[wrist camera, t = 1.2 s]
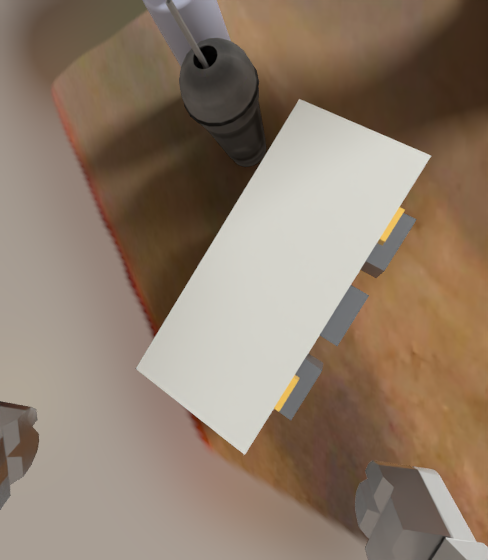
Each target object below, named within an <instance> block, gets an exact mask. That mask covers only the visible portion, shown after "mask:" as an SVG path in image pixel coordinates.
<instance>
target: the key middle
mask: <svg viewBox="0 0 488 560" xmlns="http://www.w3.org/2000/svg"><path fill="white" fill-rule="evenodd" d="M368 296H369V295H367V294H366V293H364V292H362V291H360V290H359V289H357V288H355V287H353V286H352V285H350V287H349V289H348V290H347V292H346V293H345V295H344V297H343V298H342V300H341V301H340V303H339V305H338V306H337V308H336V309H335V311H334V313H333V314H332V316H331V317H330V319H329V321H328V322H327V324H326V325H325V327H324V329H323V330H322V332H321V333H320V336H322V337H323V338H325V339H327V340H328V341H330V342H331V343H333V344H334V345H336V346H338V344H339V343H340V341H341V339H342V338H343V336H344V335H345V333H346V331H347V330H348V328H349V327H350V325H351V323H352V322H353V320H354V319H355V317H356V315H357V314H358V312H359V311H360V309H361V307H362V306H363V304H364V303H365V301H366V299H367V298H368Z"/></svg>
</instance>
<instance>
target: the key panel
mask: <svg viewBox="0 0 488 560" xmlns="http://www.w3.org/2000/svg"><path fill="white" fill-rule="evenodd" d="M430 157H431V155H428V154H426V153H424V152H421V151H419V150H417V149H414V148H412V147H410V146H407V145H405V144H403V143H401V142H398V141H396V140H394V139H391V138H389V137H387V136H384V135H382V134H380V133H377V132H375V131H373V130H370V129H368V128H366V127H363V126H361V125H359V124H356V123H354V122H352V121H349V120H347V119H345V118H342V117H340V116H338V115H335V114H333V113H331V112H328V111H326V110H324V109H322V108H319V107H317V106H315V105H312V104H310V103H308V102H305V101H303V100H301V99H299V101H298V102H297V104H296V105H295V107H294V109H293V110H292V112H291V114H290V115H289V117H288V119H287V120H286V122H285V124H284V125H283V127H282V129H281V130H280V132H279V133H278V135H277V137H276V138H275V140H274V142H273V143H272V145H271V147H270V148H269V150H268V152H267V153H266V155H265V157H264V158H263V160H262V161H261V163H260V165H259V166H258V168H257V170H256V171H255V173H254V175H253V176H252V178H251V180H250V181H249V183H248V185H247V186H246V188H245V189H244V191H243V193H242V194H241V196H240V198H239V199H238V201H237V203H236V204H235V206H234V208H233V209H232V211H231V213H230V214H229V216H228V217H227V219H226V221H225V222H224V224H223V226H222V227H221V229H220V231H219V232H218V234H217V236H216V237H215V239H214V241H213V242H212V244H211V245H210V247H209V249H208V250H207V252H206V254H205V255H204V257H203V259H202V260H201V262H200V264H199V265H198V267H197V269H196V270H195V272H194V273H193V275H192V277H191V278H190V280H189V282H188V283H187V285H186V287H185V288H184V290H183V292H182V293H181V295H180V297H179V298H178V300H177V301H176V303H175V305H174V306H173V308H172V310H171V311H170V313H169V315H168V316H167V318H166V320H165V321H164V323H163V324H162V326H161V328H160V329H159V331H158V333H157V334H156V336H155V338H154V339H153V341H152V343H151V345H150V346H149V348H148V349H147V351H146V353H145V354H144V356H143V358H142V359H141V361H140V362H139V364H138V366H137V367H136V370H138V371H139V372H140V373H142V374H143V375H144V376H145V377H147V378H148V379H149V380H150V381H152V382H153V383H154V384H156V385H157V386H158V387H159V388H161V389H162V390H163V391H164V392H166V393H167V394H168V395H169V396H171V397H172V398H173V399H175V400H176V401H177V402H178V403H180V404H181V405H182V406H183V407H185V408H186V409H187V410H188V411H190V412H191V413H192V414H194V415H195V416H196V417H197V418H199V419H200V420H201V421H202V422H204V423H205V424H206V425H208V426H209V427H210V428H211V429H213V430H214V431H215V432H216V433H218V434H219V435H220V436H221V437H223V438H224V439H225V440H227V441H228V442H229V443H230V444H232V445H233V446H234V447H235V448H237V449H238V450H239V451H241V452H242V453H243V454H244V455H245V454H246V452H247V451H248V449H249V447H250V446H251V444H252V443H253V441H254V439H255V438H256V436H257V435H258V433H259V431H260V430H261V428H262V426H263V425H264V423H265V422H266V420H267V418H268V417H269V415H270V414H271V412H272V410H273V409H276V410H277V411H280V410H281V408H282V406H283V405H284V403H285V402H286V400H287V398H288V397H289V395H290V393H291V392H292V390H293V389H294V387H295V385H296V384H297V382H298V381H299V379H300V378H299V377H298V376H296V375H295V374H296V372H297V370H298V369H299V367H300V366H301V364H302V362H303V361H304V359H305V358H306V356H307V354H308V353H309V351H310V350H311V348H312V346H313V345H314V343H315V341H316V340H317V338H318V337H319V335H320V333H321V332H322V330H323V329H324V327H325V325H326V324H327V322H328V321H329V319H330V317H331V316H332V314H333V313H334V311H335V309H336V308H337V306H338V305H339V303H340V301H341V300H342V298H343V297H344V295H345V293H346V292H347V290H348V289H349V287H350V285H351V284H352V282H353V281H354V279H355V277H356V276H357V274H358V273H359V271H360V269H361V268H362V266H363V264H364V263H365V261H366V260H367V258H368V256H369V255H370V253H371V252H372V250H373V248H374V247H375V245H376V244H377V243H378V244H380V245H383V244H384V243H385V241H386V240H387V238H388V236H389V235H390V233H391V232H392V230H393V228H394V227H395V225H396V224H397V222H398V220H399V219H400V217H401V216H402V214H403V212H404V211H405V209H402V208H400V205H401V204H402V202H403V200H404V199H405V197H406V196H407V194H408V192H409V191H410V189H411V187H412V186H413V184H414V183H415V181H416V179H417V178H418V176H419V175H420V173H421V171H422V170H423V168H424V167H425V165H426V163H427V162H428V160H429V159H430Z"/></svg>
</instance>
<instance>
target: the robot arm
mask: <svg viewBox="0 0 488 560" xmlns="http://www.w3.org/2000/svg"><path fill="white" fill-rule="evenodd" d="M36 421H37V412H36V409H35V408H32V407H28V406H23V405H17V404H12V403H6V402H1V401H0V510H1V508H2V507H3V505H4V504H5V502H6V501H7V500H8V498H9V497H10V485H11V484H12V483H14V482H15V481H17V480H19V479H20V478H22V477H23V476H24V475H25V474H26V472H27V471H28V469H29V468H30V466H31V465H32V462H33V460H34V457H35V455H36V453H37V450H38V443H39V434H38V432H37V431H36V430H35V429H34V428H33V427H32V426H33V425H34V423H35V422H36ZM365 472H366V475H367V478H368V479H366V480H365V481H363V482H361V483H360V484H359V487H358V489H357V492H356V500H355V509H356V517H357V521H358V525H359V528H360V529H361V530H362V531H363V532H364V534H365V535H366V536H367V537H368V541H367V544H366V546H365V550H366V555H367V558H368V560H488V547H487V546H486V545H485V544H484V543H480V542H476V540H475V538H474V536H473V535H472V533H471V531H470V529H469V527H468V526H467V524H466V522H465V520H464V518H463V517H462V515H461V513H460V511H459V509H458V508H457V506H456V504H455V502H454V500H453V499H452V497H451V495H450V493H449V491H448V490H447V488H446V486H445V484H444V482H443V481H442V479H441V477H440V475H439V474H438V473H437V472H436V471H435V470H433V469H426V468H420V467H411V466H408V465H401V464H394V463H387V462H380V461H371V462H370V463H369V464H368V466H367V468H366V470H365Z"/></svg>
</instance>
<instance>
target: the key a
mask: <svg viewBox="0 0 488 560" xmlns="http://www.w3.org/2000/svg"><path fill="white" fill-rule="evenodd" d="M322 367H323V363H322V362H321V361H319V360H318V359H316V358H315V357H313V356H311V355H310V354H307V356H306V358H305V359H304V361H303V362H302V364H301V366H300V367H299V369H298V370H297V372H296V374H295V375H296V376H298V377H299V378H300V379H299V381H298V382H297V384H296V385H295V387H294V389H293V390H292V392H291V393H290V395H289V397H288V398H287V400H286V402H285V403H284V405H283V406H282V408H281V410H280V411H279V412H280V413H281V414H283V415H284V416H286V417H287V418H288V419H290V420H291V419H292V418H293V416H294V415H295V413H296V411H297V410H298V408H299V407H300V405H301V403H302V402H303V400H304V399H305V397H306V395H307V394H308V392H309V391H310V389H311V387H312V386H313V384H314V383H315V381H316V379H317V378H318V376H319V375H320V373H321V371H322Z"/></svg>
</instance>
